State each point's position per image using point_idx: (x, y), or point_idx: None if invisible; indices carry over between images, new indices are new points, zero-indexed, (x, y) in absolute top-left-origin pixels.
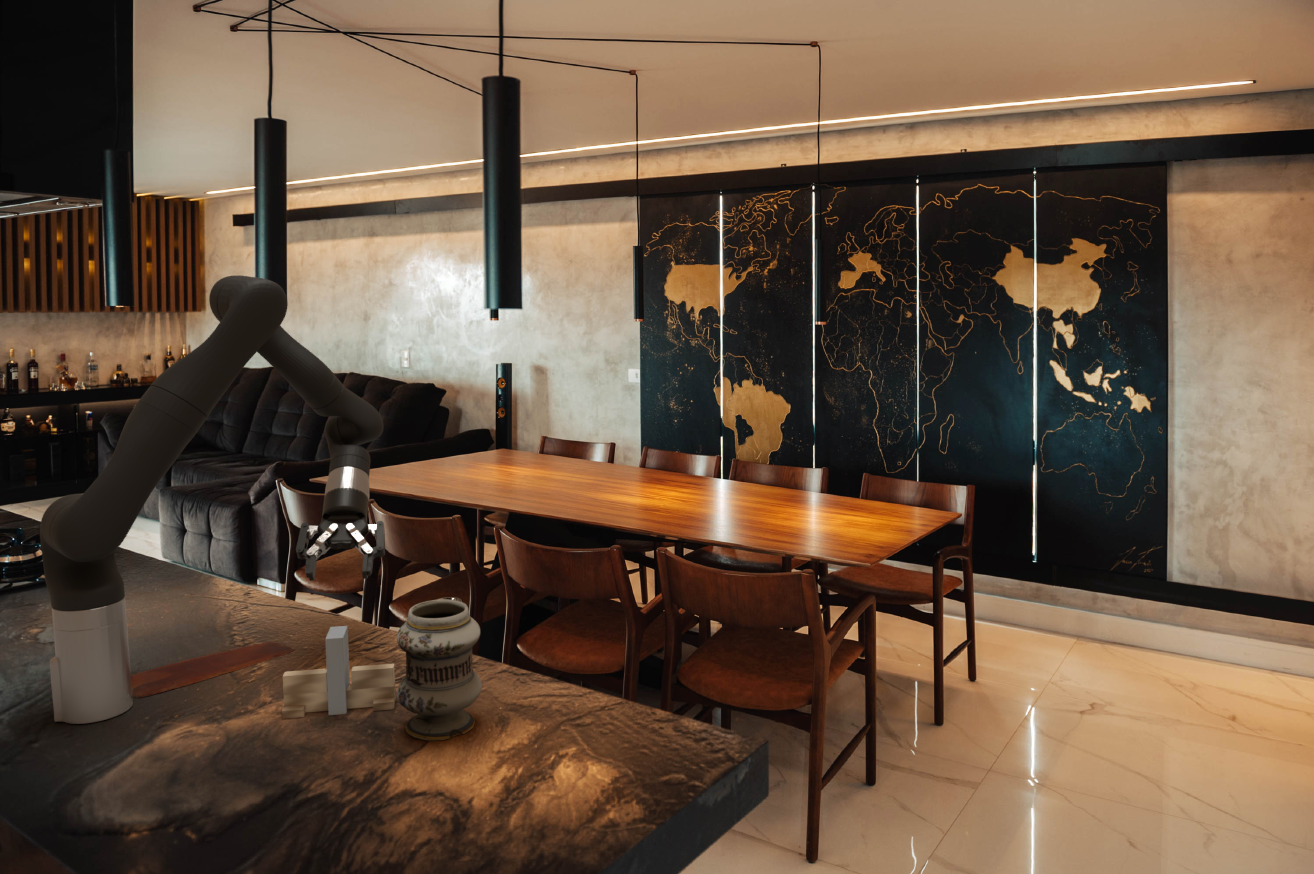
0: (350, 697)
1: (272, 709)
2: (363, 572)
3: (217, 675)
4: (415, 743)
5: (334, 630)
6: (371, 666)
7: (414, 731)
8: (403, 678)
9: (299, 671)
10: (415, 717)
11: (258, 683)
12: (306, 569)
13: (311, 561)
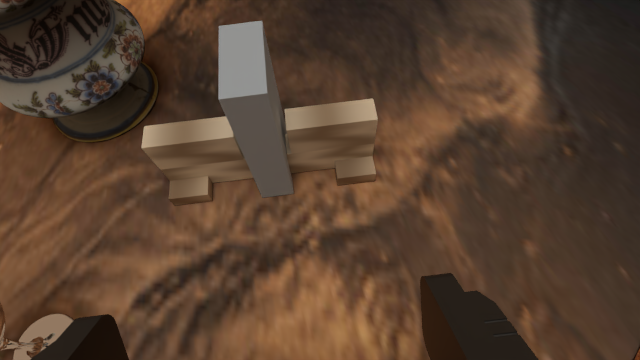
0: None
1: (398, 164)
2: (98, 316)
3: (637, 353)
4: (147, 56)
5: (250, 69)
6: (191, 135)
7: (143, 67)
8: (119, 36)
9: (345, 118)
10: (139, 99)
11: (495, 293)
12: (489, 312)
13: (483, 341)
